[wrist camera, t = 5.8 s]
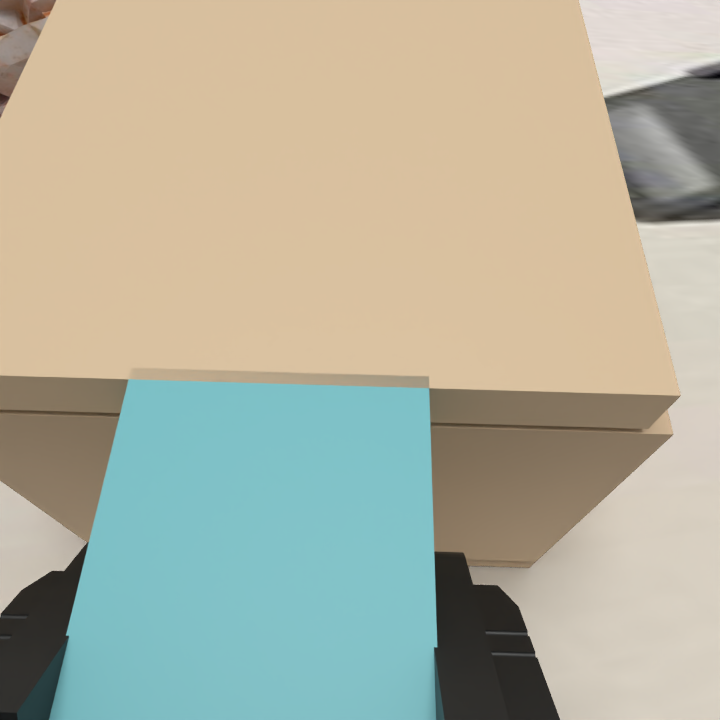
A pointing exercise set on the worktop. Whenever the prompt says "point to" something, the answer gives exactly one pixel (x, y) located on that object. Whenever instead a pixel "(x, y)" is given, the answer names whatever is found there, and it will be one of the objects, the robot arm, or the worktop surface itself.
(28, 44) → the food item
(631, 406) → the flap
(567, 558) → the worktop surface
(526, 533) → the carton
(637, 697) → the worktop surface
